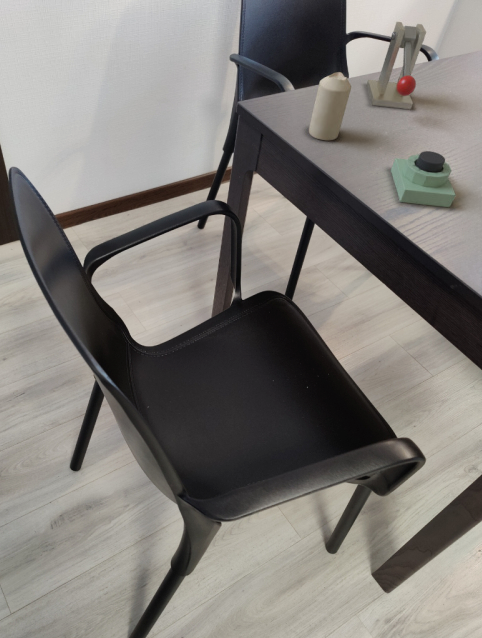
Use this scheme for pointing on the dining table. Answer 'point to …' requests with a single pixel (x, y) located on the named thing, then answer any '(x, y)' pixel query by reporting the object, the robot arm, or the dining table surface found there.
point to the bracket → (382, 89)
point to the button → (430, 162)
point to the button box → (422, 183)
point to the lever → (407, 62)
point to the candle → (330, 106)
